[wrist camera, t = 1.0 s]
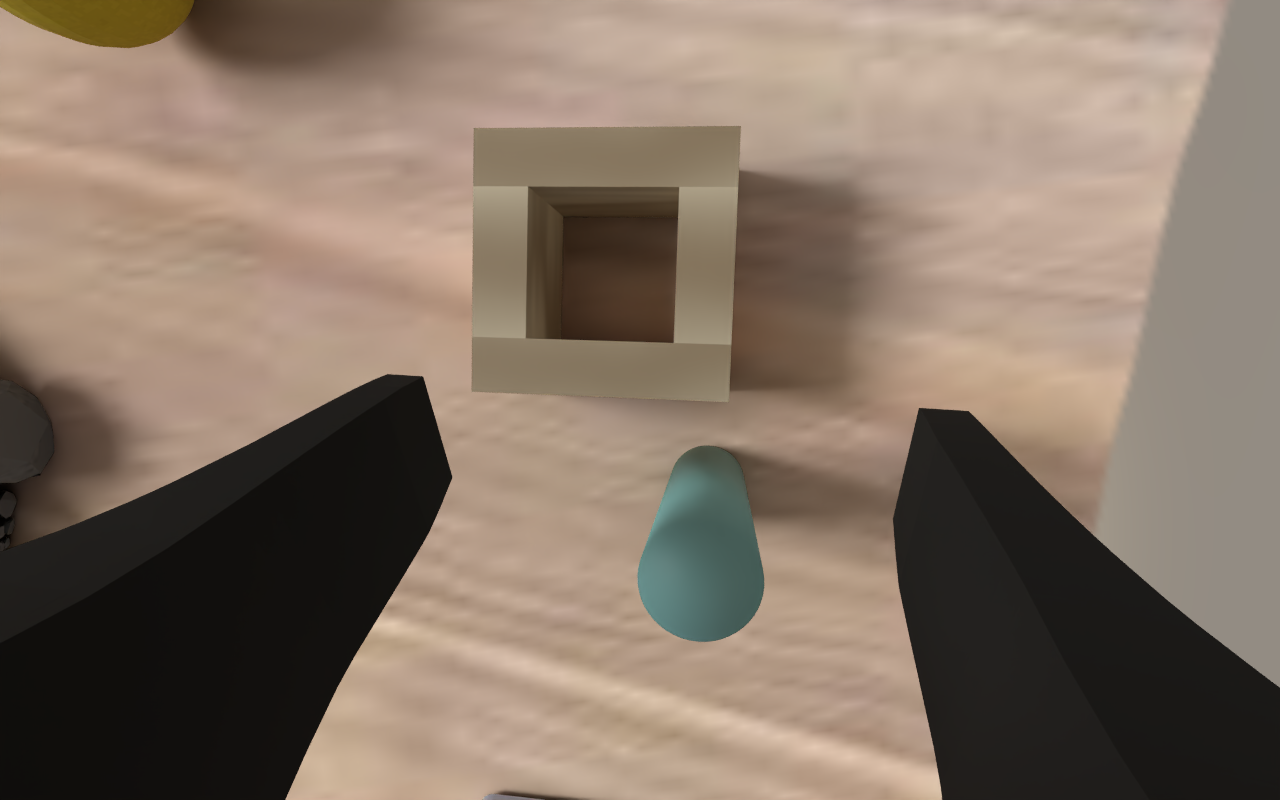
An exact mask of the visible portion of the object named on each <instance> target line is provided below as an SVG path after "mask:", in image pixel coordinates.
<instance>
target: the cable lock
mask: <svg viewBox="0 0 1280 800" xmlns="http://www.w3.org/2000/svg"><path fill="white" fill-rule="evenodd" d="M53 453H54V441H53V432H52V426H51V422H50V420H49V418H48V416H47V414H46V412H45V410H44V408H43V407H42V405H41V403H40V402H39V400H38V399H37V397H35V396H34V395H32V394H31V393H29V392H28V391H26V390H25V389H23V388H22V387H20V386H19V385H17V384H16V383H14V382H13V381H7V380H0V483H17V482H19V481H22V480H24V479H27V478H29V477H34V476H39V475H40V473H41V472H42V470H43V469H44V467H45V466H46V464H47V462H48V461H49V459H50V458H51V456H52V454H53ZM16 502H17V501H16V498H15V496H14V494H13V493H10V492H7V490H4V491H0V552H2V551H3V550H4V548H5V549H7V547H8V546H9V545H10V541H9V538H7V539H6V537H3V536H4V535H5V533H6V534H7V535H8V534H11V533H12V531H13V529H14V524H15V521H14V518H13V519H11V520H10V517H9V516H11V515H12V513H13V510H14V508H15V505H16ZM1 516H3V517H1Z"/></svg>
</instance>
